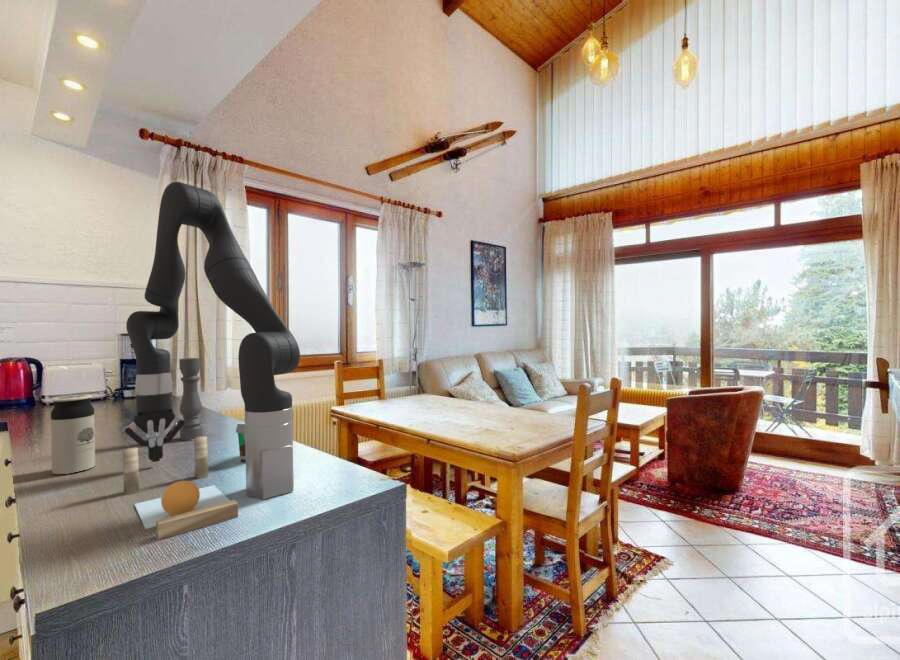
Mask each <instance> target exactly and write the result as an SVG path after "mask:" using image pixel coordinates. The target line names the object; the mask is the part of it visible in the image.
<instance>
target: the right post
mask: <svg viewBox="0 0 900 660" xmlns="http://www.w3.org/2000/svg"><path fill="white" fill-rule="evenodd" d="M193 441H194V443H193V444H194V446H193V447H194V478H195V479H203V478H206V477H208V476H209V465H208V463H209V459H208V458H209V456H208V454H209V453H208V452H209V451H208V436H206V435H203V436H200V437H196V438H194V440H193Z"/></svg>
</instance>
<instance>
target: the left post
mask: <svg viewBox="0 0 900 660" xmlns="http://www.w3.org/2000/svg"><path fill="white" fill-rule="evenodd" d="M139 467H140V465H139V447H137V446H136V447H135V446H134V447H128V448H125V449H123V450H122V470H123V471H122V477H123V494H124V495H131V494H135V493H137V492H139V491H140V475H139V473H140V470H139Z"/></svg>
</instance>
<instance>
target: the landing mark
mask: <svg viewBox="0 0 900 660" xmlns="http://www.w3.org/2000/svg"><path fill="white" fill-rule="evenodd" d="M198 489H199V493H200V497H199V501H198V503H197V505H196V506H195V507H194V508H193V509H192V510H191V511H194V510H198V509H202V508H206V507H209V506H213V505H217V504H221V503H224V502H228V501H231V500H230V499H229V498H228V497H227V496H226V495H225V494H224V493H223V492H222V491H221V490H220V489H219V488H218V487H217V486H216V485H215V484H213V485H209V486H205V487H201V488H198ZM161 499H162V497H159V498H155V499H154V498H153V499H150V500H146V501H142V502H136V503H134V507H135V509H136V512H137V513H138V516H139V518H140V521H141V522H142V525H143V527H144V530H149V529H152V528H156V521H157V520H160V519H164V518H168V517H172V516H175V515H170V514H168V513H167V512H165V511H164V509H163V507H162V504H161Z"/></svg>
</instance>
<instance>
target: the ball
mask: <svg viewBox="0 0 900 660" xmlns="http://www.w3.org/2000/svg"><path fill="white" fill-rule="evenodd" d="M199 489H200V488H199V487H198V486H197V485H196V484H195V483H194V482H192V481H190V480H179V481H175V482H174V483H172V484H170V485H169V486H168V487H166V489H164V491H163V494H162V496H161V498H162V499H161V504H162V507H163V509H164V511H165V512H167V513H168V514H170V515H179V514H183V513H187V512H190V511H191V510H192V509H193V508H194V507H195V506H196V505H197V503H198V501H199V497H200V493H199Z"/></svg>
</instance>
